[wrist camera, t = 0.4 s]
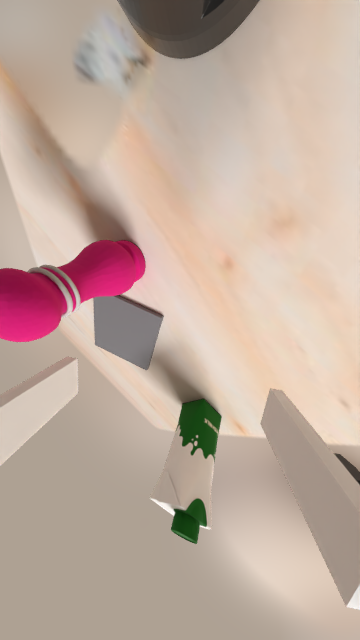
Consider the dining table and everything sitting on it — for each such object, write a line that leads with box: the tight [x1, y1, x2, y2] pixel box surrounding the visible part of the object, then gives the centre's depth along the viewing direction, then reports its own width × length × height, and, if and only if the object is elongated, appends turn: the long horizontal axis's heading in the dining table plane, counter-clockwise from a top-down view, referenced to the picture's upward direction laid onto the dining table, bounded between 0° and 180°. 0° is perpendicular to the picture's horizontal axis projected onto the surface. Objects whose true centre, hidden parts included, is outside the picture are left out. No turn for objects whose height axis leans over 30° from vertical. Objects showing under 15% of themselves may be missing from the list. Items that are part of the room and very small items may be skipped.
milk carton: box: [150, 399, 221, 544], centre depth 34 cm, size 9×9×20 cm
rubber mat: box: [94, 295, 163, 370], centre depth 35 cm, size 16×14×1 cm
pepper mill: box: [0, 240, 145, 342], centre depth 18 cm, size 7×7×20 cm
